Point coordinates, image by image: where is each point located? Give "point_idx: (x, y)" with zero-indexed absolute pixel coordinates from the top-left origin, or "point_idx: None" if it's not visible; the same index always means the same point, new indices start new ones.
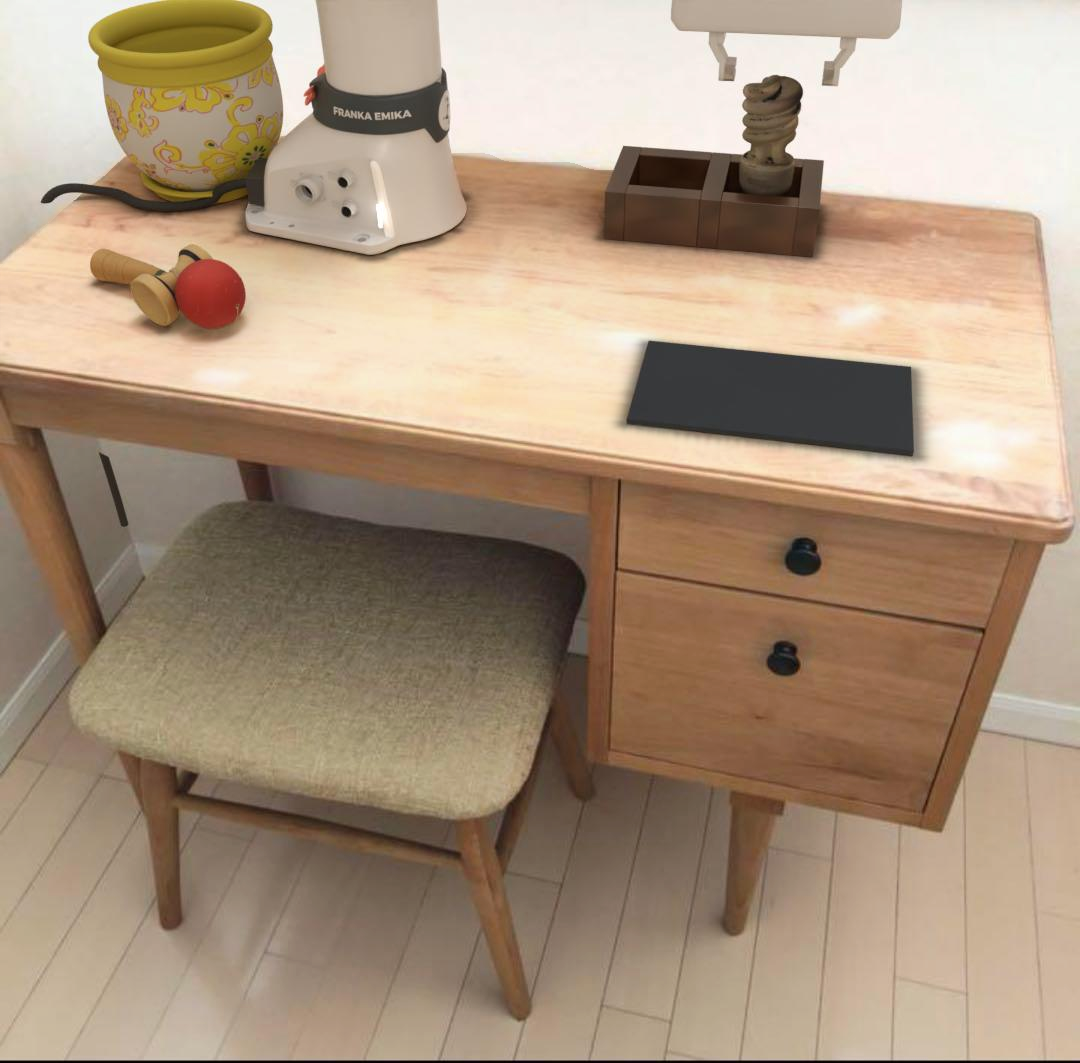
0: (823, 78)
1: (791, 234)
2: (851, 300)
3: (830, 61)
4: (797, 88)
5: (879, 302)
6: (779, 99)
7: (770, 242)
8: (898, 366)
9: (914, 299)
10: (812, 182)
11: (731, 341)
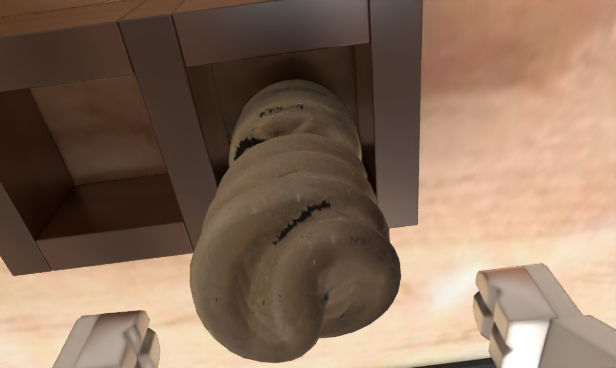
0: (486, 338)
1: None
2: (451, 261)
3: (536, 324)
4: (383, 291)
5: (488, 255)
6: (329, 323)
7: None
8: (494, 364)
9: (536, 236)
10: (399, 123)
11: (319, 363)
